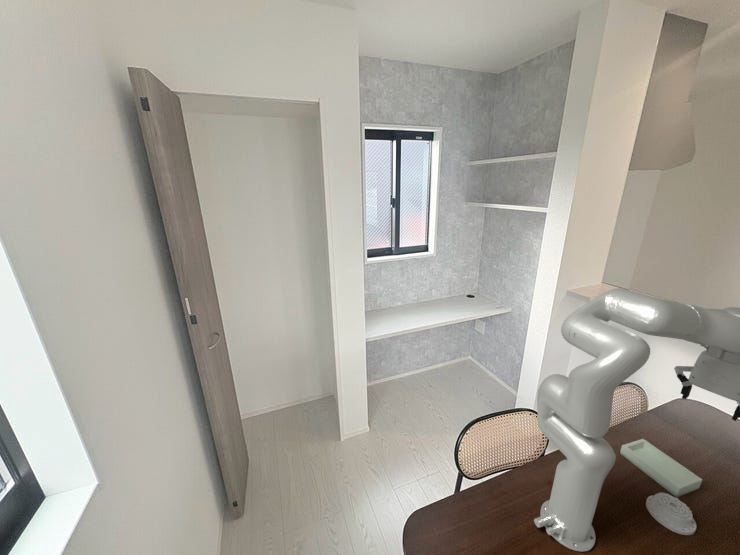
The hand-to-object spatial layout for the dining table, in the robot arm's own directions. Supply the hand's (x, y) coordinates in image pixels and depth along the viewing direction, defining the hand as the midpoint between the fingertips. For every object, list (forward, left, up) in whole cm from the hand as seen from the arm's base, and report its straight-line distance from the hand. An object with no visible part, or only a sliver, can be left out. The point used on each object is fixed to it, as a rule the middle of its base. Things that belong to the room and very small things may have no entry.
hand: (709, 407), depth 82 cm
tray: (0, +6, -29) cm, 30 cm away
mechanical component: (-13, -5, -30) cm, 33 cm away
